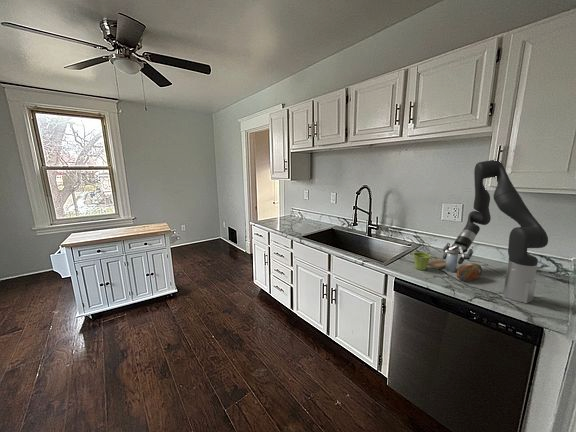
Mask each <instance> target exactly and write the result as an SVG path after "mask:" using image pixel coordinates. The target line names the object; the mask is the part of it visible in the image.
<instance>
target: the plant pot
mask: <svg viewBox="0 0 576 432" xmlns="http://www.w3.org/2000/svg"><path fill="white" fill-rule="evenodd" d="M412 255H413V260H414V268H415V269H417V270H420V271H425V270H427V268H428V266H429V265H428V261H429V260H430V259H431V257H432V256H431V255H430V254H429V253H426V252H421V251H420V252H419V251H415V252H413V253H412Z"/></svg>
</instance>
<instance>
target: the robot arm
mask: <svg viewBox="0 0 576 432" xmlns="http://www.w3.org/2000/svg"><path fill="white" fill-rule="evenodd" d="M494 160H495V159H492V160H484V161H479V162H477V163H476V164H475V166H474V173H473V174H474V201H473V210H472V211H470V212H469V214H468V216H467V221H466V225H465V226H464V228H463V229H462V230H461V232H460V233H459V234H458V236H457V237H456V239H455V240H454V242H453V244H451V243H449V242H447V243H446V245H445V246H444V247H443V248H442V251H443V255H442V256H441V257H442V259H443V260H446V259H447V250H448V249H452V250H457V251H459V254H458V255H461V256H460V258H459V259H458V260H457V264H458V265H463V263H464V261H465V260H468V261H469V260H470V259H471V258H472V255H473V254H474V250H473V249H472V248H470V247H471V246H472V244H473V242H474V241H475V239H476V237H477V235H478V234H479V232H480V230H481V228H480V227H481V226H486V225H488V224H489V223H490V222H491V218H492V216H491V212H490V203H491V195H490V193H489V191H488V190H487V189H486V187H485V185H484V179H489V178H491V177H492V178H495V176H497V180H496V182H497V184H496V187H495V190H494V192H493V201H494V202H495V204H496V206H497V208H498V210H499V211H501V212H502V213H503V214H505V215H506V216H507V217H509V218H510V219H512V220H513V221H515V222H516V223H517V224H518V225H519V226H517V227H514V228H513V229H512V230H510V233H509V236H508V247H507V249H508V250H507V254H508V260H507V268H506V274H505V280H504V281H505V282H504V286H503V287H504V288H503V294H502V295H503V296H504V297H505V298H507V299H510V300H512V301H515V302H520V303H524V304H528V303H531V302H533V300H534V295H535V291H536V284H537V280H535V278H536V274H537V269H538V262H539V259H538V258H537V257H536V256H534V255H532V254H528V249H542V248H545V247H546V246H547V245H548V244H549V236H548V234H547V232H546V231H545V229H544V227H542V224H540V223H539V222H538V220H537V219H536V218H535V216H533V214H532V213H531V211H530V210H529V209H528V207H527V205H526V204H525V202H524V201H523V198H522V196H520V195H521V194H519V192H518V190H517V189H516V188H515V186H514V184H513V183H512V181H511V179H510V177H509V175H508V173H507V171H506V169H505V166H504V165H503V163H502V162H501V161H500V160H499V161H500V162H501V163H500V162H499V161H494ZM492 178H491V179H492ZM485 189H486V190H485ZM479 225H481V226H479ZM469 248H470V249H469ZM466 252H467V254H466V255H465V253H466Z"/></svg>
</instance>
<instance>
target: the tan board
mask: <svg viewBox="0 0 576 432" xmlns="http://www.w3.org/2000/svg"><path fill="white" fill-rule="evenodd" d="M427 266H429V267H432V268H435V269H438V270H442V269H445V268H446V260H444V259H443V260H442V259H439V258H432V259H429V261H428V265H427Z"/></svg>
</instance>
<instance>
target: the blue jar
mask: <svg viewBox="0 0 576 432" xmlns="http://www.w3.org/2000/svg"><path fill="white" fill-rule="evenodd" d="M459 255H460V254H459V251H457V250H452V249H448V250H447V258H446V259H445V261H446V267H445V268H444V269H445V271H446V272H449V273H457V266H458V265H457V264H458V260H459V259H458V258H459Z"/></svg>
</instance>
